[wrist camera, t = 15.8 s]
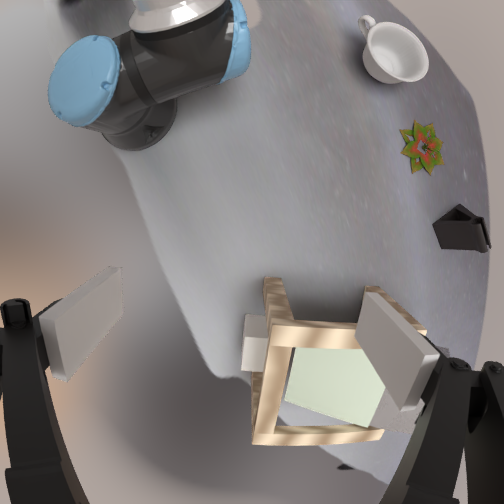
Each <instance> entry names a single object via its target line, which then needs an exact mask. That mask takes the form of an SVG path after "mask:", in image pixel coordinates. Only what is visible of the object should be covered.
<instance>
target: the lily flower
mask: <svg viewBox="0 0 504 504" xmlns="http://www.w3.org/2000/svg"><path fill="white" fill-rule="evenodd" d="M429 130H430V133H429V135H430V137H428V138H427V133H428V131H429ZM400 131H401V134H402V135H403V138H404V140H405V141H406V143H407V144H408V145H407V146H406V147H405V148H404V149H403V151H402V152H401V154H404V155H407V156H409V157H411V166H412V174H413V172H416V171H418V170H420V169H422V168H423V166H424V167H425V169H426V170H427V171H428V172H429V174H430V176H431V172H432V169H433V168H434V164H435V165H441V164H443V165H444V162H443V160H442V156H441V154H440V152H439V151H440V149H441V147H442V144H443V142H442V141H441V140H439V139H438V138H437V137H435V131H434V127H433V123H432V124H430V125H427V126H426V127H423V126H422V125H420V124H419V123H417V122H416V121H415V120H414V131H413V130H400ZM405 134H407V135H409V136H414V139H415V141H411V142H410V140H409V138H408V137H407V136H406V135H405ZM420 140H422V142H423V143H424V142H425V143H426V144H427V145H426V144H424V146H423V148H422V149H423V150H424V151H425V149H427V150H426V151H427V152H426V151H425V152H426V154H425V155H424V154H423V153H421V152H420V151H419V150H417V147H418V143H419V141H420ZM425 146H426V147H425ZM427 147H428V148H427ZM431 153H432V154H434V155H435V157H436V158H434V157H433V155H432V154H431ZM419 157H420V159H421V160H420V161H419V162H417V163H416V158H419Z"/></svg>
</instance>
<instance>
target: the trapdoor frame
mask: <svg viewBox="0 0 504 504" xmlns="http://www.w3.org/2000/svg"><path fill="white" fill-rule="evenodd" d="M365 292H375V293H378V294H379V295H380V296H381V297H383V298H384V299H385V300H386V301H387V302H388V303H389V304H390V305H391V306H392V307H393V308H394V309H395V310H396V311H397V312H398V313H399V314H400V315H401V316H402V317H403V318H404V319H405V320H406V321H408V322H409V323H410V324H411V325H412V326H413V327H414V328H415V329H416V330H417V331H418V332H419V333H421V334H423V335H424V336H425V335H426V332H427V329H425V328H424V327H423V326H422V325H421V324H420V323H419V322H418V321H417V320H416V319H414V318H413V317H412V316H411V315H410V314H409V313H408V312H407V311H406V310H405V309H403V308H402V307H401V306H400V305H399V304H398V303H397V302H396V301H394V300H393V299H392V298H391V297H390V296H389V295H388V294H386V293H385V292H384V291H383V290H382V289H381V288H379V287H376V286H365V290H364V294H363V299H364V295H365ZM263 298H264V306H265V314H266V323H267V331H268V343H267V350H266V356H265V362H264V368H263V372H254V371H252V376H251V399H252V400H251V401H252V444H254V445H286V446H288V445H289V446H291V445H295V446H296V445H328V444H343V443H354V442H364V441H372V440H380V438H381V436H382V434H383V432H384V431H385V430H384V429H380V428H377V427H373V426H368V428H367V427H363V426H360V425H356V424H350V425H332V426H275V424H276V420H277V416H278V411H279V407H280V403H281V398H282V394H283V389H284V385H285V380H286V376H287V371H288V366H289V361H290V356H291V352H292V347H301V348H325V349H362V348H361V347H360V345H359V343H358V342H357V340H356V339H355V337H354V335H355V331H356V327H357V323H342V322H322V321H306V320H294V318H293V314H292V311H291V308H290V305H289V302H288V299H287V296H286V292H285V289H284V286H283V283H282V280H281V278H273V277H265V279H264V287H263ZM363 299H362V300H363Z"/></svg>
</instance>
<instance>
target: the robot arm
mask: <svg viewBox="0 0 504 504" xmlns="http://www.w3.org/2000/svg"><path fill="white" fill-rule="evenodd" d="M132 1H133V3H134V5H135V10H134V12H133V14H132V16H131V18H130V20H129V26H130V28H131V31H129V32H126V33H124V34H122V35H120V36H118V37H115V38H113V39H110V38H109V37H107V36H98V35H91V36H87V37H84V38H82V39H80V40H78V41H77V42H75V43H74V44H72V45H71V46H70V47H69V48H68V49H67V50H66V51H65V52H64V53H63V54H62V55H61V57H60V58H59V60H58V61H57V63H56V65H55V69H54V71H53V72H52V74H51V76H50V80H49V85H48V100H49V104H50V107H51V109H52V111H53V113H54V114H55V115H56V116H57V117H58V118H59V119H61V120H63V121H65V122H68V123H69V124H71V125H72V126H75V127H82V128H86V129H91V130H94V131H98V132H101V133H102V135H103V136H104V138H105V139H106V140H107V141H108V142H109V143H111V144H112V145H114V146H116V147H118V148H121V149H125V150H141V149H145V148H148V147H150V146H152V145H154V144H155V143H157V142H158V141H159V140H161V139H162V138H163V137H164V136H165V135H166V133H167V132H168V131H169V129H170V128H171V126H172V124H173V122H174V119H175V116H176V112H177V100H176V97H178V96H181V95H184V94H187V93H190V92H193V91H196V90H199V89H202V88H205V87H208V86H212V85H215V84H216V85H218V84H220V83H223V82H224V81H226V80H229V79H232V78H235V77H238V76H240V75H242V74H243V73H244V72H245V71H246V70H247V69H248V67H249V64H250V59H251V41H250V32H249V28H248V27H247V17H246V13H245V10H244V8H243V5H242V4H241V2H240V0H132ZM0 310H1V315H2V319H3V324H4V328H0V400H1V395H2V392H3V408H4V421H5V430H6V438H7V445H8V452H9V457H10V463H11V468H7V469H6V470H5V478H6V484H7V488H8V493H9V496H10V501H11V504H90V503H89V502H88V499H87V497H86V495H85V493H84V491H83V488H82V486H81V484H80V482H79V479H78V477H77V475H76V472H75V470H74V467H73V465H72V462H71V459H70V457H69V454H68V451H67V448H66V446H65V443H64V440H63V437H62V434H61V430H60V427H59V424H58V420H57V417H56V413H55V410H54V406H53V402H52V398H51V394H50V390H49V386H48V382H47V377H46V374H45V370H46V369H47V368H48V366H49V365H50V369H51V372H52V376H53V377H54V378H56V379H59V380H62V381H66V382H68V381H69V380H70V379H71V377H72V376H73V375H74V373H75V372H76V371H77V370H78V368H79V367H80V366H81V365H82V364H83V362H84V361H85V360H86V359H87V357H88V356H89V355H90V354H91V353H92V351H93V350H94V349H95V348H96V346H97V345H98V344H99V343H100V342H101V340H102V339H103V338H104V337H105V336H106V334H107V333H108V332H109V331H110V330H111V328H112V327H113V326H114V325H115V324H116V323H117V321H118V320H119V319H120V318H121V317H122V316H123V314H124V311H123V291H122V268H121V267H113V266H109V267H107V268H106V269H104V270H103V271H101V272H100V273H99V274H97V275H96V276H94V277H93V278H91V279H90V280H89V281H87V282H85V283H84V284H83V285H81V286H80V287H78V288H77V289H76V290H74V291H73V292H71V293H70V294H69V295H67V296H66V297H65V298H62V299H59V300H57V301H54V302H53V303H51V304H50V305H49V306H48V307H46V308H45V309H43V311H40V312H39V313H38V314H36V315H35V316H34V317H32V315H31V309H30V303H29V301H27V300H25V299H21V298H17V299H10V300H7V301H5V302H4V303H2V304H1V306H0ZM354 337H355V339H356V340H357V342H358V343H359V345H360V347H361V348H362V350H363V351H364V353H365V355H366V356H367V358H368V359H369V361H370V363H371V364H372V366H373V367H374V369H375V371H376V372H377V374H378V376H379V377H380V379H381V381H382V382H383V384H384V386H385V387H386V389H387V390H388V392H389V394H390V395H391V397H392V399H393V401H394V402H395V404H396V406H397V407H398V409H399V411H400V412H402V411H409V410H415V408H416V406H417V404H418V402H419V400H420V398H421V399H422V400H423V402H424V403H425V404H424V406H423V408H422V410H421V412H420V414H419V415H418V417H417V419H416V421H415V423H414V424H416V426H415V429H414V431H413V434H412V436H411V439H410V441H409V443H408V446H407V448H406V451H405V453H404V455H403V457H402V460H401V462H400V464H399V466H398V468H397V470H396V472H395V474H394V477H393V479H392V481H391V482H390V484H389V486H388V488H387V490H386V492H385V494H384V496H383V498H382V499H381V501H380V503H379V504H459V503H460V502H459V500H458V499H456V498H452V497H453V492H454V489H455V485H456V480H457V477H458V472H459V468H460V463H461V458H462V453H463V448H464V451H465V461H466V472H467V487H468V488H467V489H468V504H504V366H502V364H501V363H498V362H493V361H487V362H485V364H484V365H483V368H482V370H481V371H472V370H471V366H470V365H469V364H468V363H467V362H465V361H464V360H461V359H459V358H454V357H453V358H447V357H446V356H445V355H444V354H443V353H442V352H441V351H440V350H439V349H438V348H437V347H435V345H434V344H433V343H431V341H430V340H429V339H428V338H427V337H426V336H424V335H423V334H421V333H419V332H418V331H417V330H416V329H415V328H414V327H413V326H412V325H411V324H410V323H409V322H408V321H406V320H405V319H404V318H403V317H402V316H401V315H400V314H399V313H398V312H397V311H396V310H395V309H394V308H393V307H392V306H391V305H390V304H389V303H388V302H387V301H386V300H385V299H384V298H383V297H381V296H380V295H379V294H378V293H375V292H365V295H364V299H363V303H362V308H361V312H360V316H359V320H358V323H357V327H356V331H355V335H354Z"/></svg>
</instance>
